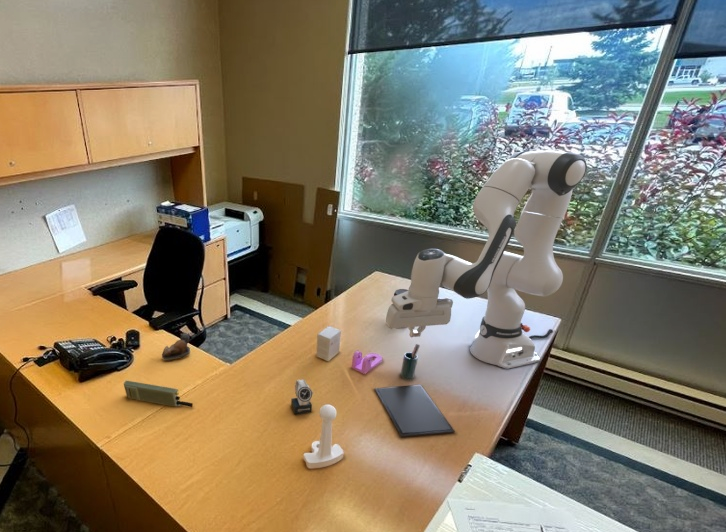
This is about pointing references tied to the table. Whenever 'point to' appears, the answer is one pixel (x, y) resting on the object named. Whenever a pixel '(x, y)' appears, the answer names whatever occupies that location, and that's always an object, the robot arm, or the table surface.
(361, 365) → the bracket
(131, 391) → the handheld radio
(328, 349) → the small box
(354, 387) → the table surface
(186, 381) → the table surface
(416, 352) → the stylus
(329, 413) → the joystick
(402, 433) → the tablet
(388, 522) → the table surface
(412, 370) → the pen cup
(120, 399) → the table surface
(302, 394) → the watch
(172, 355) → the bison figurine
